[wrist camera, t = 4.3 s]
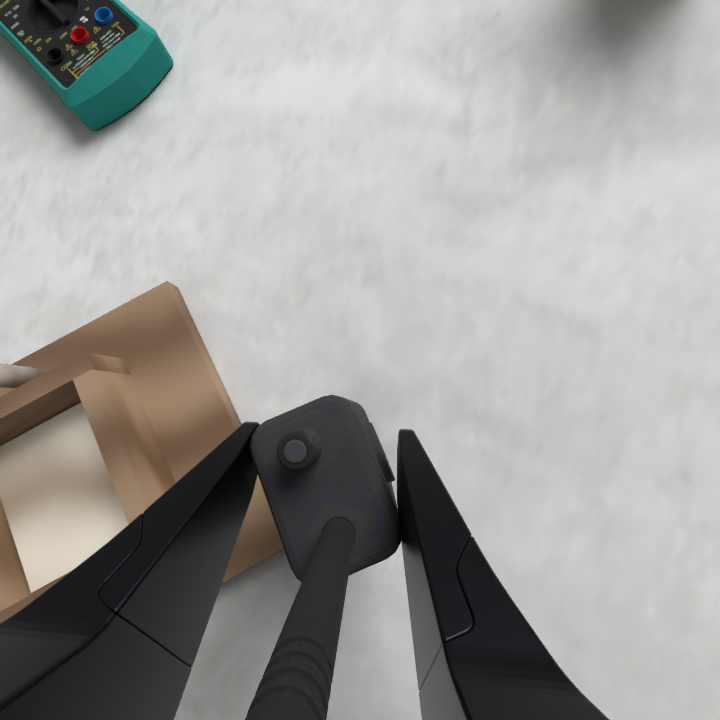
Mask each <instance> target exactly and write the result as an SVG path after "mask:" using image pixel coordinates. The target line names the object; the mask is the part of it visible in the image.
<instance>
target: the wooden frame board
mask: <svg viewBox="0 0 720 720" xmlns="http://www.w3.org/2000/svg"><path fill="white" fill-rule="evenodd" d="M241 425H242V424H241V422H240V420H239V418H238V415H237V413H236V411H235V409H234V407H233V405H232V403H231V400H230V398H229V396H228V394H227V392H226V390H225V388H224V385H223V383H222V381H221V379H220V377H219V375H218V373H217V370H216V368H215V366H214V364H213V362H212V360H211V358H210V355H209V353H208V351H207V349H206V347H205V345H204V343H203V340H202V338H201V336H200V334H199V332H198V330H197V328H196V325H195V323H194V321H193V319H192V317H191V315H190V313H189V310H188V308H187V306H186V304H185V302H184V300H183V298H182V295H181V293H180V291H179V289H178V287H176V286H175V285H173V284H171V283H170V282H168V281H166V282H164V283H162V284H160V285H159V286H157V287H155V288H153V289H151V290H149V291H147V292H145V293H144V294H142V295H140V296H138V297H136V298H134V299H132V300H131V301H129V302H127V303H125V304H123V305H121V306H119V307H118V308H116V309H114V310H112V311H110V312H108V313H106V314H105V315H103V316H101V317H99V318H97V319H95V320H93V321H92V322H90V323H88V324H86V325H84V326H82V327H80V328H79V329H77V330H75V331H73V332H71V333H69V334H67V335H66V336H64V337H62V338H60V339H58V340H56V341H54V342H53V343H51V344H49V345H47V346H45V347H43V348H41V349H39V350H38V351H36V352H34V353H32V354H30V355H28V356H26V357H25V358H23V359H21V360H19V361H17V362H15V363H13V364H12V365H8V364H0V623H1V622H3V621H5V620H6V619H8V618H9V617H11V616H12V615H14V614H15V613H17V612H18V611H20V610H21V609H22V608H24V607H25V606H27V605H28V604H29V603H31V602H32V601H33V600H34V599H36V598H37V597H38V596H40V595H41V594H42V593H43V592H45V591H46V590H47V589H49V588H50V587H51V586H53V585H54V584H55V583H56V582H58V581H59V580H60V579H62V578H63V577H64V576H66V575H67V574H68V573H69V572H71V571H72V570H73V569H75V568H76V567H77V566H78V565H80V564H81V563H82V562H84V561H85V560H86V559H87V558H89V557H90V556H91V555H92V554H94V553H95V552H96V551H97V550H99V549H100V548H101V547H102V546H104V545H105V544H106V543H108V542H109V541H110V540H111V539H112V538H113V537H115V536H116V535H117V534H118V533H119V532H120V531H122V530H123V529H124V528H125V527H126V526H127V525H129V524H130V523H131V522H132V521H133V520H134V519H135V518H137V517H138V516H139V515H140V514H142V513H143V512H144V511H145V510H146V509H147V508H148V507H149V506H150V505H151V504H152V503H154V502H155V501H156V500H157V499H158V498H159V497H160V496H162V495H163V494H164V493H165V492H166V491H167V490H168V489H169V488H171V487H172V486H173V485H174V484H175V483H176V482H177V481H178V480H180V479H181V478H182V477H183V476H184V475H185V474H186V473H188V472H189V471H190V470H191V469H192V468H193V467H194V466H195V465H197V464H198V463H199V462H200V461H201V460H202V459H203V458H204V457H206V456H207V455H208V454H209V453H210V452H211V451H212V450H214V449H215V448H216V447H217V446H218V445H219V444H220V443H221V442H223V441H224V440H225V439H226V438H227V437H228V436H229V435H230V434H232V433H233V432H234V431H235V430H236V429H237V428H238V427H239V426H241ZM283 549H284V547H283V544H282V542H281V539H280V536H279V533H278V530H277V527H276V525H275V522H274V519H273V516H272V513H271V510H270V508H269V505H268V502H267V499H266V496H265V494H264V491H263V488H262V485H261V482H260V479H259V477H258V475H257V479H256V483H255V488H254V492H253V495H252V498H251V501H250V504H249V507H248V510H247V513H246V516H245V518H244V521H243V524H242V527H241V530H240V533H239V535H238V538H237V541H236V544H235V547H234V550H233V552H232V555H231V558H230V561H229V564H228V567H227V569H226V572H225V575H224V578H223V581H222V583H223V582H225V581H227V580H229V579H230V578H232V577H234V576H236V575H238V574H239V573H241V572H243V571H245V570H247V569H248V568H250V567H252V566H254V565H256V564H258V563H259V562H261V561H263V560H265V559H267V558H268V557H270V556H272V555H274V554H276V553H277V552H279V551H281V550H283Z"/></svg>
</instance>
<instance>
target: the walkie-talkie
mask: <svg viewBox="0 0 720 720" xmlns="http://www.w3.org/2000/svg"><path fill="white" fill-rule="evenodd" d="M250 450H251V456H252V460H253V462H254V465H255V468H256V471H257V474H258V477H259V479H260V482H261V485H262V488H263V491H264V494H265V496H266V499H267V502H268V505H269V508H270V510H271V513H272V516H273V519H274V522H275V525H276V527H277V530H278V533H279V536H280V539H281V542H282V544H283V547H284V550H285V553H286V556H287V559H288V561H289V564H290V567H291V569H292V571H293V572H294V574H295V576H296V578H297V579H299V580H300V581H301V582H302V583H301V586H300V588H299V590H298V593H297V595H296V598H295V600H294V603H293V605H292V607H291V610H290V612H289V615H288V617H287V619H286V622H285V624H284V627H283V629H282V631H281V634H280V636H279V639H278V641H277V643H276V646H275V648H274V651H273V653H272V655H271V658H270V661H269V663H268V665H267V667H266V670H265V672H264V675H263V678H262V680H261V682H260V684H259V687H258V689H257V691H256V695H255V697H254V699H253V701H252V703H251V706H250V708H249V711H248V714H247V717H246V719H245V720H326V717H327V710H328V702H329V697H330V691H331V683H332V678H333V671H334V665H335V658H336V652H337V645H338V639H339V633H340V626H341V620H342V613H343V607H344V600H345V594H346V587H347V581H348V576H349V575H351V574H353V573H355V572H358V571H360V570H362V569H365V568H367V567H369V566H371V565H374V564H376V563H378V562H381V561H383V560H385V559H387V558H389V557H390V556H391V555H393V554H394V553H395V552H396V550H397V548H398V546H399V544H400V543H401V534H402V531H401V523H400V517H399V514H398V508H397V504H396V500H395V496H394V492H393V487H392V483H391V482H392V481H394V480H395V478H394V475H393V473H392V470H391V468H390V465H389V463H388V460H387V458H386V455H385V453H384V450H383V448H382V446H381V443H380V441H379V439H378V436H377V434H376V432H375V429H374V427H373V425H372V423H370V422H369V420H368V418H367V415H366V413H365V411H364V409H363V408H362V406H361V405H359V404H358V403H356V402H353V401H351V400H348V399H345V398H343V397H339V396H335V395H329V396H324V397H321V398H319V399H316V400H314V401H312V402H309V403H307V404H305V405H302V406H300V407H297V408H295V409H293V410H290V411H288V412H286V413H283V414H281V415H279V416H276V417H274V418H272V419H269V420H267V421H265V422H264V423H262V424H261V425H259V426H258V427H257V429H256V430H255V432H254V434H253V435H252V438H251V444H250Z"/></svg>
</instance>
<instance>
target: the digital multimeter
mask: <svg viewBox="0 0 720 720" xmlns="http://www.w3.org/2000/svg"><path fill="white" fill-rule="evenodd" d="M26 2H27V3H26ZM25 4H26V5H25ZM23 11H24V12H23ZM31 29H32V30H31ZM35 31H36V32H35ZM0 33H1V34H2V35H3V36H4V37H5V38H6V39H7V40H8V41H9V42H10V43H11V44H12V45H13V46H14V47H15V48H16V49H17V50H18V51H19V52H20V53H21V54H22V55H23V56H24V57H25V59H26V60H27V61H28V62H29V63H30V64H31V65H32V66H33V68H34V69H35V70H36V71H37V72H38V73H39V74H40V75H41V77H42V78H43V79H44V80H45V81H46V82H47V83H48V85H49V86H50V87H51V88H52V89H53V91H54V92H55V93H56V94H57V95H58V97H59V98H60V99H61V100H62V101H63V102H64V104H65V105H66V106H67V107H68V108H69V109H70V110H71V111H72V112H73V113H74V114H75V115H76V116H78V117H79V118H80V119H81V120H82V121H83V122H84V123H85V124H86V125H87V126H88V127H89V128H90V129H92V130H98V129H100V128H102V127H104V126H106V125H107V124H109V123H111V122H113V121H114V120H116V119H117V118H119V117H120V116H122V115H123V114H125V113H126V112H128V111H129V110H131V109H132V108H134V107H135V106H136V105H137V104H138V103H139V102H141V101H142V100H143V99H144V98H145V97H146V96H148V94H149V93H150V92H151V91H152V90H153V89H154V88H155V87H156V85H157V84H158V83H159V82H160V81H161V80H162V79H163V77H164V76H165V75H166V73H167V72H168V71H169V70H170V68H171V67H172V65H173V60H172V58H171V56H170V55H169V53H168V51H167V50H166V48H165V46H164V45H163V43H162V41H161V40H160V38H159V36H158V35H157V33H156V31H155V30H154V29H153V28H151V27H150V26H149V25H148V24H147V23H145V22H144V21H143V20H142V19H140V18H139V17H138V16H137V15H135V14H134V13H133V12H132V11H130V10H129V9H128V8H127V7H126V6H125V5H123V4H122V3H121V2H120V1H119V0H28V1H27V0H0ZM37 59H38V60H39V61H40V62H41V63H40V62H39V61H38V60H37ZM61 84H62V85H63V86H62V85H61Z"/></svg>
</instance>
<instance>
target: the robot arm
mask: <svg viewBox="0 0 720 720" xmlns="http://www.w3.org/2000/svg"><path fill="white" fill-rule="evenodd" d="M259 425H260V424H259V423H258V422H245V423H243V424H242V425H241V426H239V427H238V428H237V429H236V430H235V431H234V432H233V433H232V434H230V435H229V436H228V437H227V438H226V439H225V440H224V441H223V442H221V443H220V444H219V445H218V446H217V447H216V448H215V449H214V450H212V451H211V452H210V453H209V454H208V455H207V456H206V457H204V458H203V459H202V460H201V461H200V462H199V463H198V464H197V465H195V466H194V467H193V468H192V469H191V470H190V471H189V472H188V473H186V474H185V475H184V476H183V477H182V478H181V479H180V480H178V481H177V482H176V483H175V484H174V485H173V486H172V487H171V488H169V489H168V490H167V491H166V492H165V493H164V494H163V495H162V496H160V497H159V498H158V499H157V500H156V501H155V502H154V503H152V504H151V505H150V506H149V507H148V508H147V509H146V510H145V511H144V512H143V513H142V514H140V515H139V516H138V517H137V518H135V519H134V520H133V521H132V522H131V523H130V524H129V525H127V526H126V527H125V528H124V529H123V530H122V531H120V532H119V533H118V534H117V535H116V536H115V537H113V538H112V539H111V540H110V541H109V542H108V543H106V544H105V545H104V546H102V547H101V548H100V549H99V550H97V551H96V552H95V553H94V554H92V555H91V556H90V557H89V558H87V559H86V560H85V561H84V562H82V563H81V564H80V565H78V566H77V567H76V568H75V569H73V570H72V571H71V572H69V573H68V574H67V575H66V576H64V577H63V578H62V579H60V580H59V581H58V582H56V583H55V584H54V585H53V586H51V587H50V588H49V589H47V590H46V591H45V592H43V593H42V594H41V595H40V596H38V597H37V598H36V599H34V600H33V601H32V602H31V603H29V604H28V605H27V606H25V607H24V608H22V609H21V610H20V611H18V612H17V613H15V614H14V615H12V616H11V617H9V618H8V619H6V620H5V621H3V622H1V623H0V720H174V717H175V715H176V712H177V709H178V706H179V703H180V700H181V698H182V695H183V692H184V689H185V686H186V683H187V681H188V678H189V675H190V672H191V667H192V666H193V663H194V660H195V657H196V655H197V652H198V649H199V646H200V643H201V640H202V638H203V635H204V632H205V629H206V626H207V623H208V620H209V618H210V615H211V612H212V609H213V606H214V603H215V601H216V598H217V595H218V592H219V589H220V586H221V584H222V581H223V578H224V575H225V572H226V569H227V567H228V564H229V561H230V558H231V555H232V552H233V550H234V547H235V544H236V541H237V538H238V535H239V533H240V530H241V527H242V524H243V521H244V518H245V516H246V513H247V510H248V507H249V504H250V501H251V498H252V495H253V492H254V488H255V483H256V479H257V475H258V474H257V471H256V468H255V465H254V462H253V460H252V456H251V450H250V444H251V438H252V435H253V434H254V432H255V430H256V429H257V427H258V426H259ZM397 505H398V514H399V517H400V523H401V531H402V534H401V541H402V550H403V559H404V567H405V576H406V584H407V593H408V602H409V610H410V619H411V628H412V636H413V645H414V654H415V662H416V671H417V679H418V688H419V691H420V692H419V697H420V706H421V714H422V720H609V719H608V718H607V717H606V716H605V715H604V714H603V713H602V712H601V711H600V710H599V709H598V708H597V707H596V706H595V705H594V704H593V703H591V702H590V701H589V700H588V699H587V698H586V697H585V696H584V695H583V694H582V693H581V692H580V690H579V689H578V688H577V687H576V686H575V685H574V684H573V683H572V682H571V680H570V679H569V678H568V677H567V676H566V675H565V673H564V672H563V671H562V669H561V668H560V667H559V666H558V664H557V663H556V662H555V660H554V659H553V657H552V656H551V655H550V653H549V652H548V650H547V649H546V648H545V646H544V645H543V643H542V642H541V640H540V639H539V638H538V636H537V635H536V633H535V632H534V630H533V629H532V627H531V626H530V625H529V623H528V622H527V620H526V619H525V617H524V616H523V615H522V613H521V612H520V610H519V609H518V607H517V606H516V604H515V603H514V602H513V600H512V599H511V597H510V596H509V594H508V593H507V591H506V590H505V588H504V587H503V585H502V584H501V582H500V581H499V579H498V578H497V576H496V575H495V573H494V572H493V570H492V568H491V567H490V565H489V563H488V562H487V560H486V558H485V557H484V555H483V553H482V552H481V550H480V548H479V546H478V544H477V543H476V541H475V539H474V537H471V532H470V530H469V529H468V527H467V525H466V523H465V522H464V520H463V518H462V516H461V514H460V513H459V511H458V509H457V507H456V505H455V504H454V502H453V500H452V498H451V497H450V495H449V493H448V491H447V489H446V488H445V486H444V484H443V482H442V480H441V479H440V477H439V475H438V473H437V472H436V470H435V468H434V466H433V464H432V463H431V461H430V459H429V457H428V455H427V454H426V452H425V450H424V448H423V447H422V445H421V443H420V441H419V439H418V438H417V436H416V434H415V432H414V431H413V430H409V429H400V430H399V435H398V447H397Z"/></svg>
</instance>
